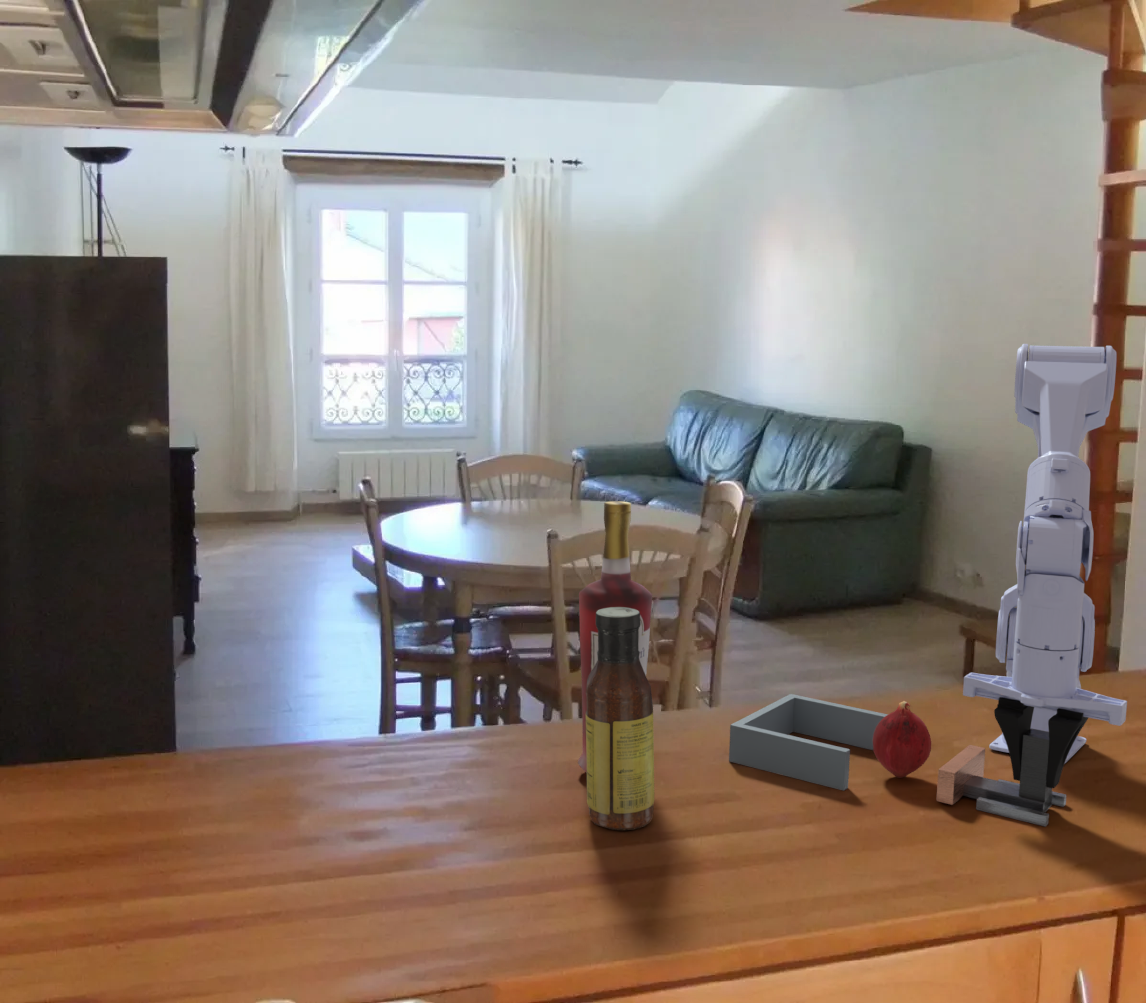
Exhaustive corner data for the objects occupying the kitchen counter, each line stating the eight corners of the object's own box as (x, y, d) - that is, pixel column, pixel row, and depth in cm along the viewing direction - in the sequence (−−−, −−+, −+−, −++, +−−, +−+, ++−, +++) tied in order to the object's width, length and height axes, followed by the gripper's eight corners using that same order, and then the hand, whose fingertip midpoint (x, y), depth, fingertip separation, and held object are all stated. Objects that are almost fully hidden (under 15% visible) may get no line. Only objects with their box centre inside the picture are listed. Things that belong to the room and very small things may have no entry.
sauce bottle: (661, 812, 117) (667, 607, 114) (643, 838, 111) (649, 622, 108) (595, 802, 119) (599, 600, 116) (574, 827, 113) (578, 615, 110)
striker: (967, 774, 127) (972, 706, 126) (1060, 796, 122) (1066, 724, 121) (936, 801, 120) (941, 728, 119) (1033, 825, 115) (1039, 749, 114)
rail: (998, 788, 124) (999, 779, 124) (1065, 804, 120) (1066, 794, 120) (976, 809, 119) (976, 799, 119) (1045, 826, 115) (1046, 816, 115)
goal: (788, 727, 142) (790, 693, 141) (897, 752, 134) (899, 717, 134) (728, 761, 131) (730, 724, 130) (843, 790, 123) (845, 752, 122)
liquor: (631, 759, 131) (638, 497, 127) (658, 784, 124) (666, 507, 120) (566, 765, 128) (570, 499, 124) (589, 791, 122) (595, 510, 117)
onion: (931, 790, 123) (935, 713, 122) (871, 785, 125) (876, 708, 123) (926, 770, 129) (931, 696, 128) (869, 765, 130) (874, 691, 129)
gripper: (956, 638, 118) (947, 775, 120) (1118, 666, 109) (1106, 812, 111) (980, 624, 123) (971, 755, 125) (1136, 649, 115) (1124, 789, 117)
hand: (1036, 781), depth 119 cm, fingers closed on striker, 2 cm apart
